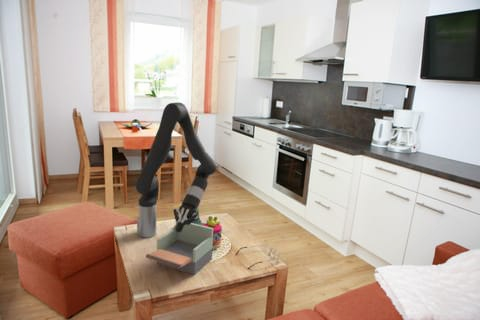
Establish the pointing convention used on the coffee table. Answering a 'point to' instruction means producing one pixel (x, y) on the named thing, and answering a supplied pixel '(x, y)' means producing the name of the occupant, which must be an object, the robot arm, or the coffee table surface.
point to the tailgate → (169, 258)
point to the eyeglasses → (266, 250)
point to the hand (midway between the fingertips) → (177, 231)
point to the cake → (215, 231)
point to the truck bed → (189, 246)
